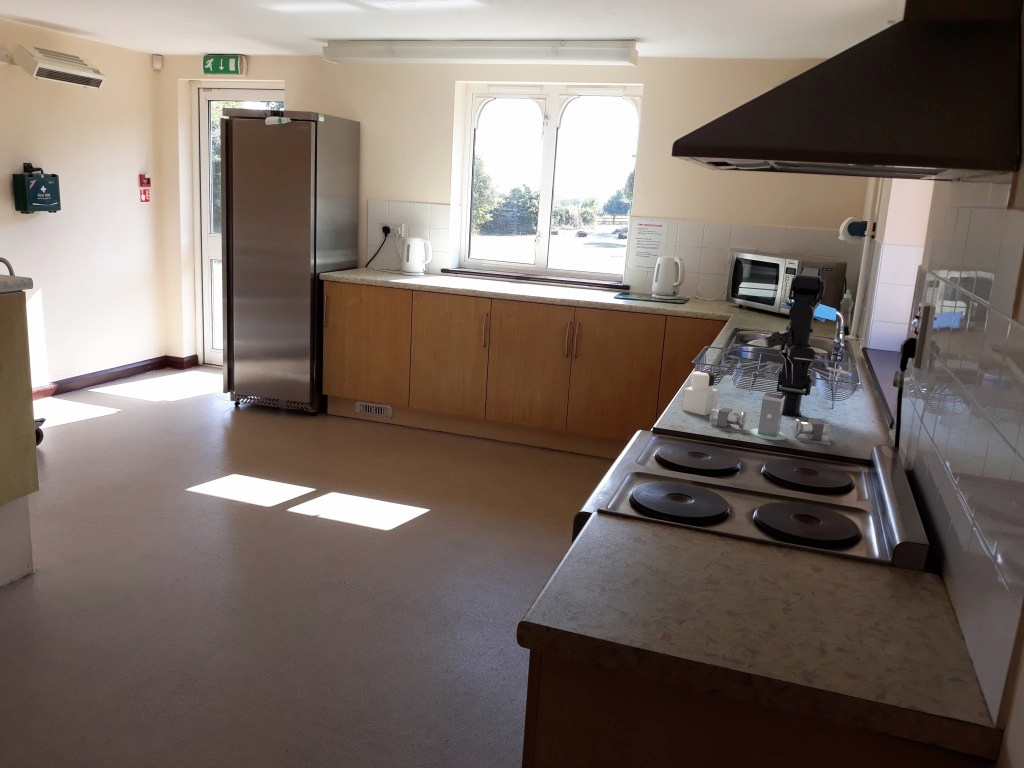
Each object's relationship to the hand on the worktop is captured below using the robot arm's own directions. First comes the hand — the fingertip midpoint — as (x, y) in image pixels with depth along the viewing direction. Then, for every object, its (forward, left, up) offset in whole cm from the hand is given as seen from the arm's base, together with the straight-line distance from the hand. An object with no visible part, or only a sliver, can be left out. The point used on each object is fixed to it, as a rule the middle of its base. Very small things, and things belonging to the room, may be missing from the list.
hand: (791, 381), depth 217 cm
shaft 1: (+10, -15, -12) cm, 22 cm away
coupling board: (+10, -5, -13) cm, 17 cm away
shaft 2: (+10, +6, -12) cm, 17 cm away
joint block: (+13, -5, -12) cm, 18 cm away
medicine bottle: (-3, -23, -13) cm, 26 cm away
